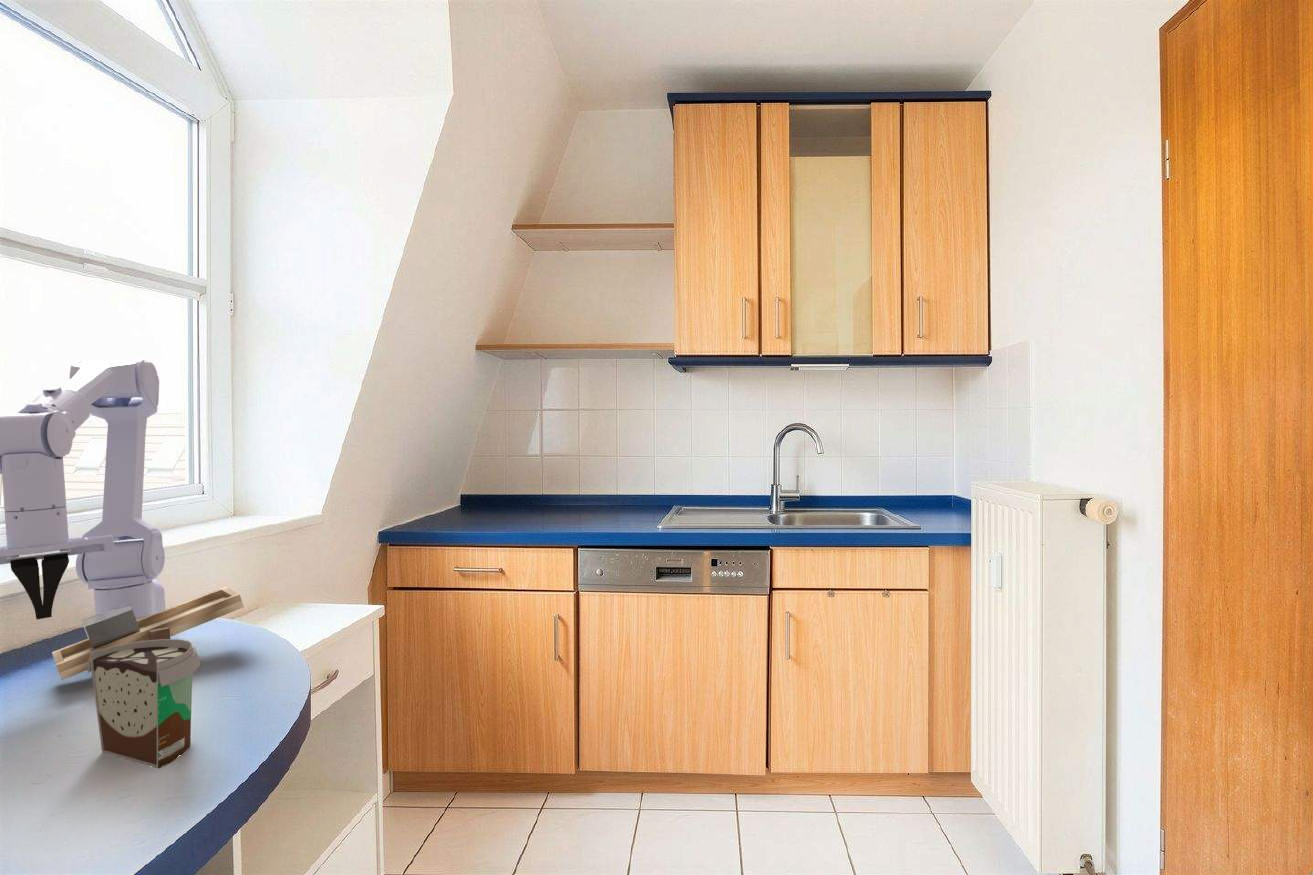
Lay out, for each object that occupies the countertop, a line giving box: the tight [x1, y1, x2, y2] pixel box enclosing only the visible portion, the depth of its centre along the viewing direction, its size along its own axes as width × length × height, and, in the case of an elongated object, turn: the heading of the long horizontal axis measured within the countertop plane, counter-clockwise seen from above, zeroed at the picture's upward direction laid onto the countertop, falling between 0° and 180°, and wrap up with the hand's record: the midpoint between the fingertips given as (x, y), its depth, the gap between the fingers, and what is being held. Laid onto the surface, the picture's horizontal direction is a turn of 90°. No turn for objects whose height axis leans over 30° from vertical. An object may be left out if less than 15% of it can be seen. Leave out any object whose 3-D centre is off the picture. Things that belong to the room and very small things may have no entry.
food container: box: [87, 638, 201, 770], centre depth 68 cm, size 12×6×10 cm, turn 65°
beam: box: [51, 586, 245, 681], centre depth 93 cm, size 20×8×2 cm, turn 134°
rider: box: [80, 604, 140, 649], centre depth 90 cm, size 5×5×4 cm
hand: (43, 617), depth 85 cm, fingers closed
